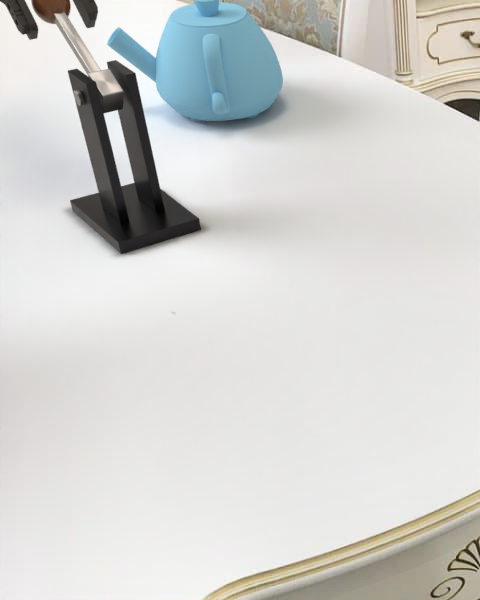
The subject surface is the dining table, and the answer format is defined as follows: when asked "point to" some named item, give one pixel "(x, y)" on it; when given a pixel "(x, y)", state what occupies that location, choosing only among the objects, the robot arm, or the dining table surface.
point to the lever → (81, 52)
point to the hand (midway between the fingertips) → (63, 28)
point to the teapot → (209, 62)
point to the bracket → (111, 195)
